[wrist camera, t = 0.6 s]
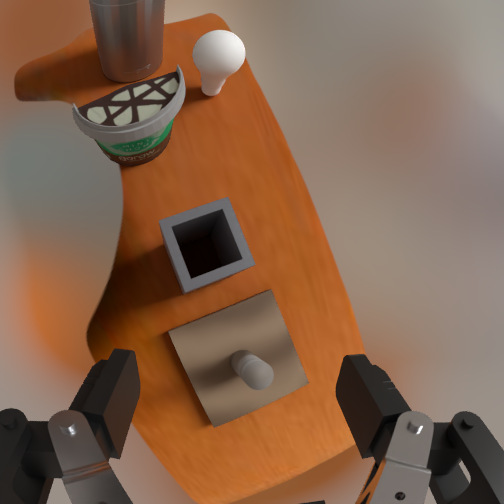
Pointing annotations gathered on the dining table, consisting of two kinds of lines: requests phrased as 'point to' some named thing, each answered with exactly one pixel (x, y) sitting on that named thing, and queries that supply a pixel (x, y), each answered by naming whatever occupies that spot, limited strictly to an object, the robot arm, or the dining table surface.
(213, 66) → the lightbulb
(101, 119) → the food container
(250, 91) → the dining table surface
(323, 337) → the dining table surface
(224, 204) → the sleeve
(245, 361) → the post stand
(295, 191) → the dining table surface
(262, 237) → the dining table surface
